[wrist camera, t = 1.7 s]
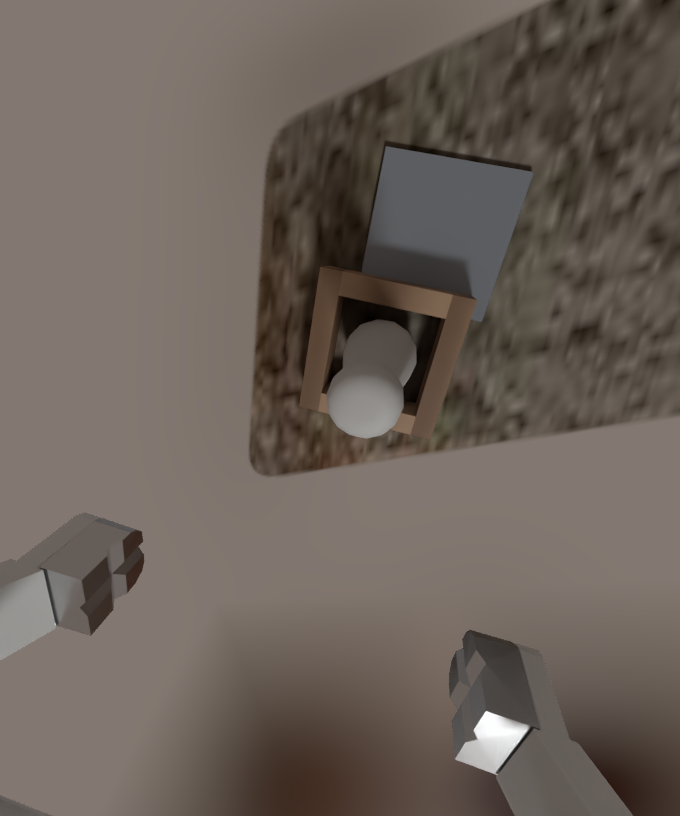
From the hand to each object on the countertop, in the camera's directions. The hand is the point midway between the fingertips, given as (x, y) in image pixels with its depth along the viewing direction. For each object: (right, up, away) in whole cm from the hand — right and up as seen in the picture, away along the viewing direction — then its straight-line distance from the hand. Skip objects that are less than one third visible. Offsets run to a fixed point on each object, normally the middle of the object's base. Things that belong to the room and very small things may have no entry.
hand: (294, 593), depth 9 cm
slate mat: (+8, +17, +18) cm, 26 cm away
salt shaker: (+5, +10, +22) cm, 25 cm away
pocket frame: (+5, +9, +22) cm, 25 cm away
